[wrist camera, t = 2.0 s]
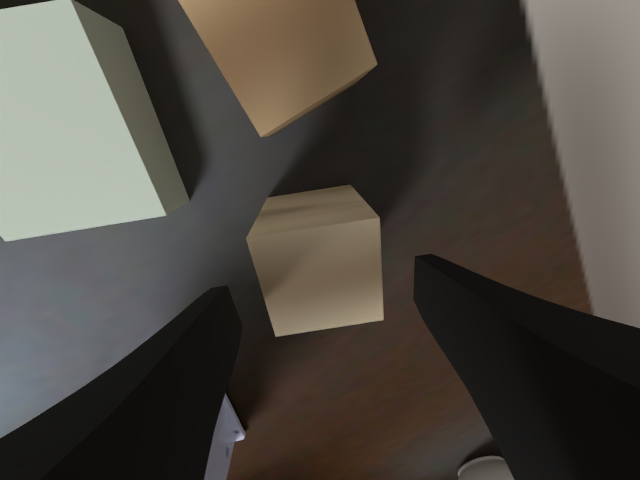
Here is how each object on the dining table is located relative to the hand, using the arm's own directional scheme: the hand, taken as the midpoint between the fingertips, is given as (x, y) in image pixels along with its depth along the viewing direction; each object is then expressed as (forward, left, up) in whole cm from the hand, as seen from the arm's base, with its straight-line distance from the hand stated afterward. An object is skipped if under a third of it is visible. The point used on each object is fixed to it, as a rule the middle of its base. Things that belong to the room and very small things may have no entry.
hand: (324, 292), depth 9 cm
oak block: (+9, 0, -7) cm, 11 cm away
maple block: (0, 0, -7) cm, 7 cm away
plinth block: (+7, +11, -7) cm, 15 cm away
